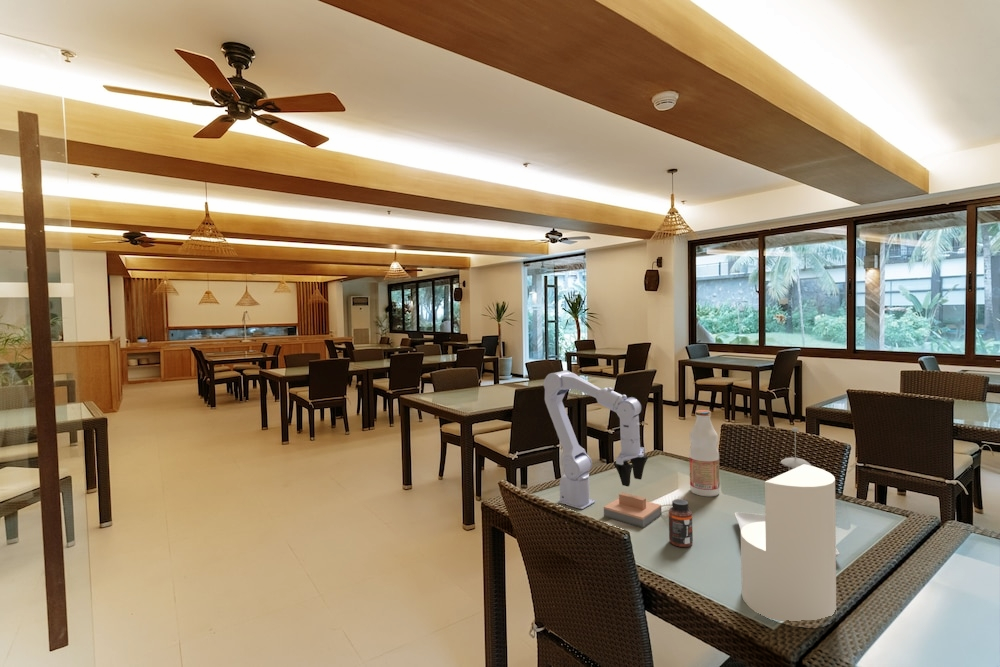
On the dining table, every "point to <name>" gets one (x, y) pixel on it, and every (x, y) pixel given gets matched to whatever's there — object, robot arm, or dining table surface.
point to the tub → (632, 518)
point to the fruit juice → (704, 456)
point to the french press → (794, 461)
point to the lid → (632, 506)
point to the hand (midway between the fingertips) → (632, 482)
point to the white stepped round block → (792, 548)
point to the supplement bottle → (680, 524)
